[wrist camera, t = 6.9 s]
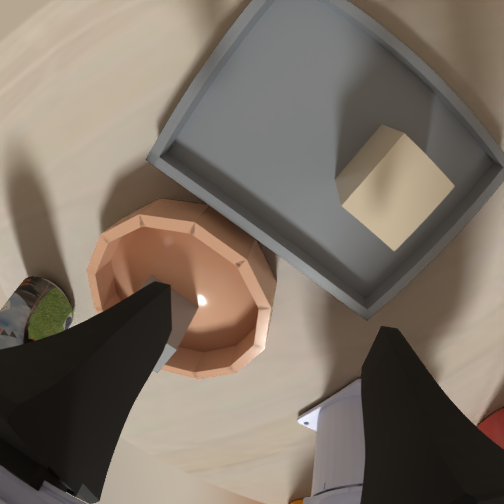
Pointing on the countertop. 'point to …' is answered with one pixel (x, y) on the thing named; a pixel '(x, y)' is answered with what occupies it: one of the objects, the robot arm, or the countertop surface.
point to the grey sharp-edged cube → (175, 322)
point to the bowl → (191, 280)
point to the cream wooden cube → (391, 186)
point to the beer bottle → (297, 501)
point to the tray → (322, 141)
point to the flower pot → (494, 427)
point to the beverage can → (34, 313)
